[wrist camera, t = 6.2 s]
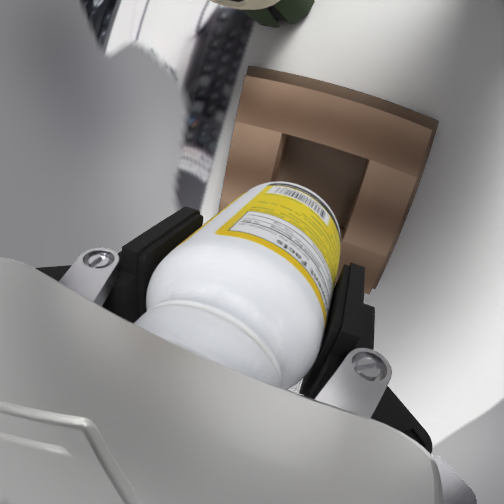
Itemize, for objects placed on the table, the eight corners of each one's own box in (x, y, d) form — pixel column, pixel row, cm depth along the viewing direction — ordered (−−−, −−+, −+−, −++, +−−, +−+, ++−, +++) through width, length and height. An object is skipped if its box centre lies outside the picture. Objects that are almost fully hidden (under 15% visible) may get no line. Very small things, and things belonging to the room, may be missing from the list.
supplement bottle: (249, 292, 17) (148, 444, 9) (216, 193, 15) (54, 304, 7) (352, 280, 15) (316, 474, 6) (328, 167, 13) (250, 290, 5)
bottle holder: (251, 66, 24) (234, 61, 21) (436, 120, 21) (448, 122, 18) (219, 230, 32) (202, 245, 29) (375, 284, 29) (375, 307, 25)
